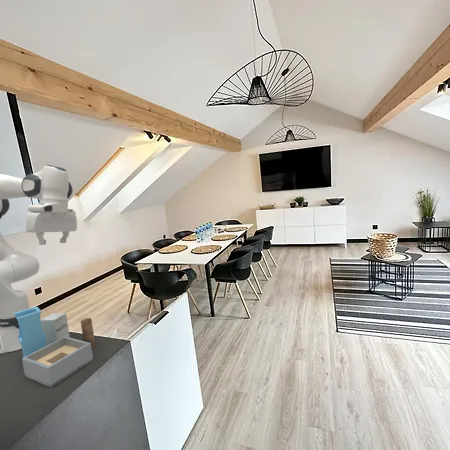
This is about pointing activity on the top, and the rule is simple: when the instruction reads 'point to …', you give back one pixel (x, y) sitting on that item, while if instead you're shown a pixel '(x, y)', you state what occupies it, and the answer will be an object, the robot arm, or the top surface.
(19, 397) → the top surface
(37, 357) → the bore box
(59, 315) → the supplement box
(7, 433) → the top surface
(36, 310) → the blue curved piece
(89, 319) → the peg
